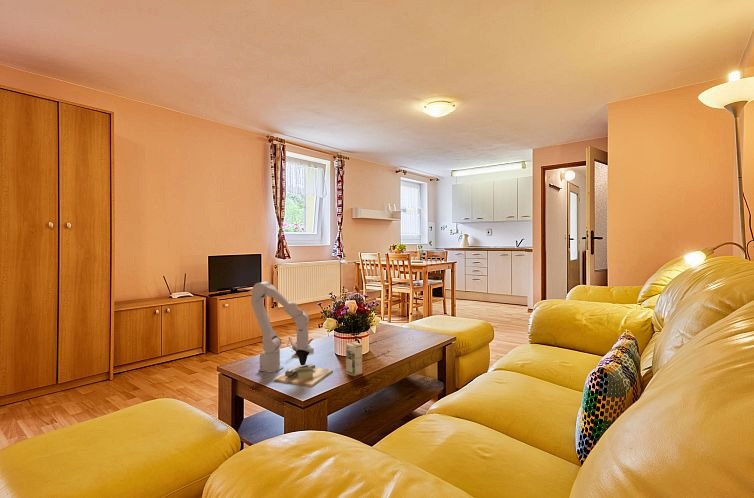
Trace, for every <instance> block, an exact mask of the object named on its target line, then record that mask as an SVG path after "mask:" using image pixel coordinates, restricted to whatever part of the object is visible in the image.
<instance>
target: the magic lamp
mask: <svg viewBox="0 0 754 498" xmlns="http://www.w3.org/2000/svg"><path fill="white" fill-rule="evenodd" d="M313 340H314V338H311V339H308V344H309V345H310V344H311V342H312V341H313ZM289 342H290V344H291V346H289ZM292 344H293V341H292V337H289V336H288V342H287V344H286V345H287V347H288V348H290V349H292V350H291V353H292V352H295V353H294V354H293V355H294V356H297V354H296V351H298V349H296V348H292ZM294 344H297V341H296V342H295V343H294Z"/></svg>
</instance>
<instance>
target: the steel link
mask: <svg viewBox="0 0 754 498" xmlns="http://www.w3.org/2000/svg"><path fill="white" fill-rule="evenodd" d="M301 366H302V367H299V368H304V367H312V369H313V368H316V364H314V363H310V364H305V365H301ZM291 369H292V368H290V369H289V368H288V369H287V370H285V371H284V373H285V376H287V377H291V376H294V375H296V374H298V371H297V368H296V369H293V370H291Z"/></svg>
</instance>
